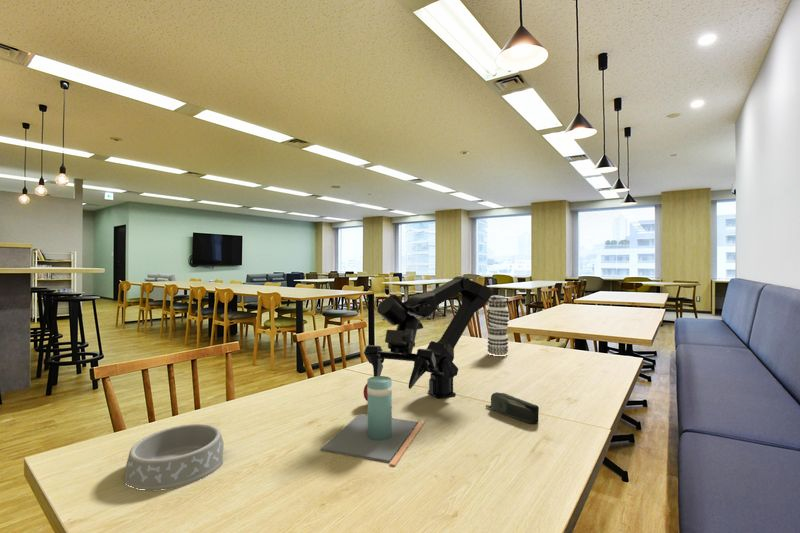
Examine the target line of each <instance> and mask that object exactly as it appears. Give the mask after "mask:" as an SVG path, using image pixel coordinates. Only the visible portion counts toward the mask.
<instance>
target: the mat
mask: <svg viewBox="0 0 800 533" xmlns="http://www.w3.org/2000/svg"><path fill="white" fill-rule="evenodd" d="M418 423H419V421H416V420H415V421H414V420H410V419H409V420H408V419H401V418H394V417H392V436H391V437H390V438H389V439H386V440H381V441H377V440H372V439H370V438H369V437H368V414H366V413H365V414H364V413H359V414H358V415H356V417H355V416H354V418H353V419H352V420H350V421H349V422H348V423H347V424H346V425H345V426H344V427H343V428H341V429H340V430H339V431H338V432H337V433H336V434H335V435H334V436H333V437H332V438H331V439H329V440H328V441H327V442H326V443H325V444H324V445H322V446H321V447H320V451H322V452H323V451H324V452H329V453H335V454H340V455H347V456H353V457H356V458H357V457H358V458H361V459H369V460H374V461H379V462H386V463H390V462H391V461H392V460H393V458H394V457H395V455H396V454H397V453H398V451H399V450H400V448H401V447H402V446H403V444H404V443H405V441H406V440H407V438H408V437H409V436H410V434H411V433H412V431H413V430H414V429H415V427H416V426H417V424H418Z"/></svg>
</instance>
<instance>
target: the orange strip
mask: <svg viewBox="0 0 800 533" xmlns="http://www.w3.org/2000/svg"><path fill="white" fill-rule="evenodd" d="M424 424H425V420H424V421H423V420H420V421H418V423H417V425H416V426H415V427H414V429H413V430H412V432H411V433H410V434H409V436H408V437H407V439H406V440H405V441H404V443H403V444H402V446H401V447H400V449H399V450H398V451H397V453H396V454H395V456H394V457H393V458H392V460H391V461H390V462H389V466H391V467H396V466H397V465H398V463H399V461H400V460H401V458H402V457H403V455H404V454H405V452H406V451H407V449H409V446H410V445H411V444H412V442H414V439H415V437H416V436H417V435H418V433H419V432H420V431H421V429H422V428H423V426H424Z"/></svg>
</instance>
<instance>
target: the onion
mask: <svg viewBox="0 0 800 533" xmlns="http://www.w3.org/2000/svg"><path fill="white" fill-rule="evenodd" d="M362 392H363V398H364V399H365V401H366V402H368V394H367V383H366V384H365V385H364V387H363V391H362Z"/></svg>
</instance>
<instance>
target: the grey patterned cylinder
mask: <svg viewBox="0 0 800 533" xmlns="http://www.w3.org/2000/svg"><path fill="white" fill-rule="evenodd" d="M507 302H508V299H507V298H506V296H504V295H490V298H489V300H488V307H487V310H486V313H487V315H486V317H487V319H486V320H487V321H488V323H487V327H488V337H487V340H488V341H487V344H488V345H487V353H488V352H489V353H491V354H495V355H505V354H507V353H508V352H509V345H508V344H509V342H508V340H509V338H508V333H507V332H508V330H507V329H508V328H509V319H507V318H509V315H508V314H509V311H508V306H507V305H508V303H507Z"/></svg>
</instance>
